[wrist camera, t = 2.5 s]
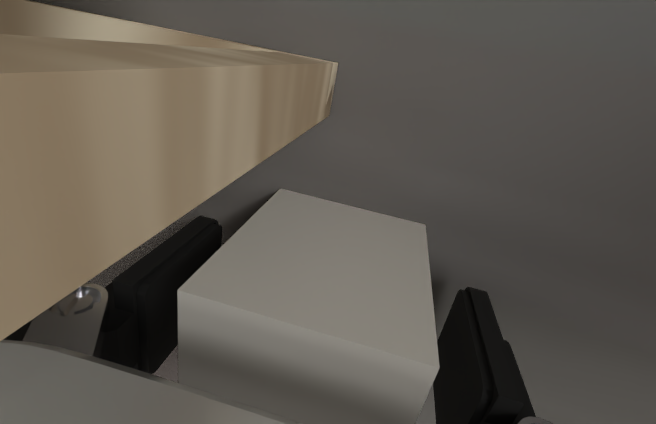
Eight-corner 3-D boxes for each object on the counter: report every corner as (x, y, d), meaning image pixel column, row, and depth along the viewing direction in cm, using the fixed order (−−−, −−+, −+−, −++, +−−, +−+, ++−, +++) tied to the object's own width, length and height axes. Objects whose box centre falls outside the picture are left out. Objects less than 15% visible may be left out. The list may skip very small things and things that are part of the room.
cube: (425, 224, 12) (439, 367, 6) (387, 337, 14) (373, 518, 8) (280, 188, 12) (177, 290, 7) (266, 301, 14) (178, 449, 9)
